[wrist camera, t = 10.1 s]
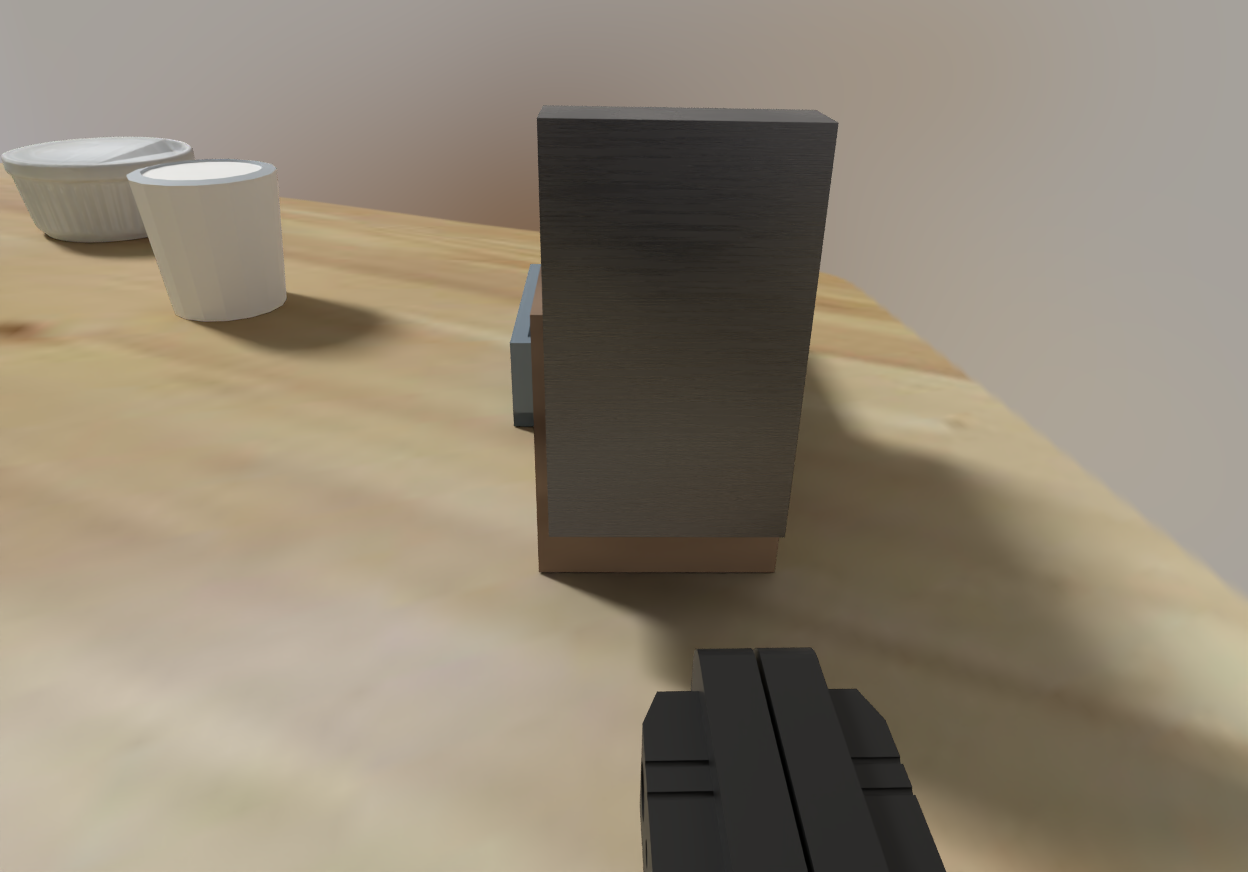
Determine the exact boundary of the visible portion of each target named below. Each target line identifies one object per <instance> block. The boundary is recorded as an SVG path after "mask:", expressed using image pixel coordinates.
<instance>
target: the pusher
mask: <svg viewBox="0 0 1248 872" xmlns="http://www.w3.org/2000/svg"><path fill="white" fill-rule="evenodd" d="M837 129H838V122H836V121H835V120H833V119H831V118H829V117H827V116H826V115H824V114H822V113H820V112H819V111H817V110H785V109H726V108H666V107H607V106H546V105H545V106H543V107H542V109H541V111H540V113H539V115H538V117H537V136H538V170H539V207H540V242H541V278H542V313H543V348H544V383H545V419H546V454H547V489H548V524H549V537H785V531H786V524H787V516H788V508H789V500H790V493H791V485H792V477H793V470H794V462H795V454H796V446H797V439H798V431H799V423H800V416H801V408H802V400H803V392H804V385H805V377H806V369H807V362H808V354H809V346H810V338H811V331H812V323H813V315H814V308H815V300H816V292H817V285H818V277H819V269H820V261H821V253H822V245H823V238H824V231H825V223H826V215H827V207H828V200H829V191H830V184H831V176H832V169H833V160H834V153H835V146H836V138H837Z"/></svg>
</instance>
